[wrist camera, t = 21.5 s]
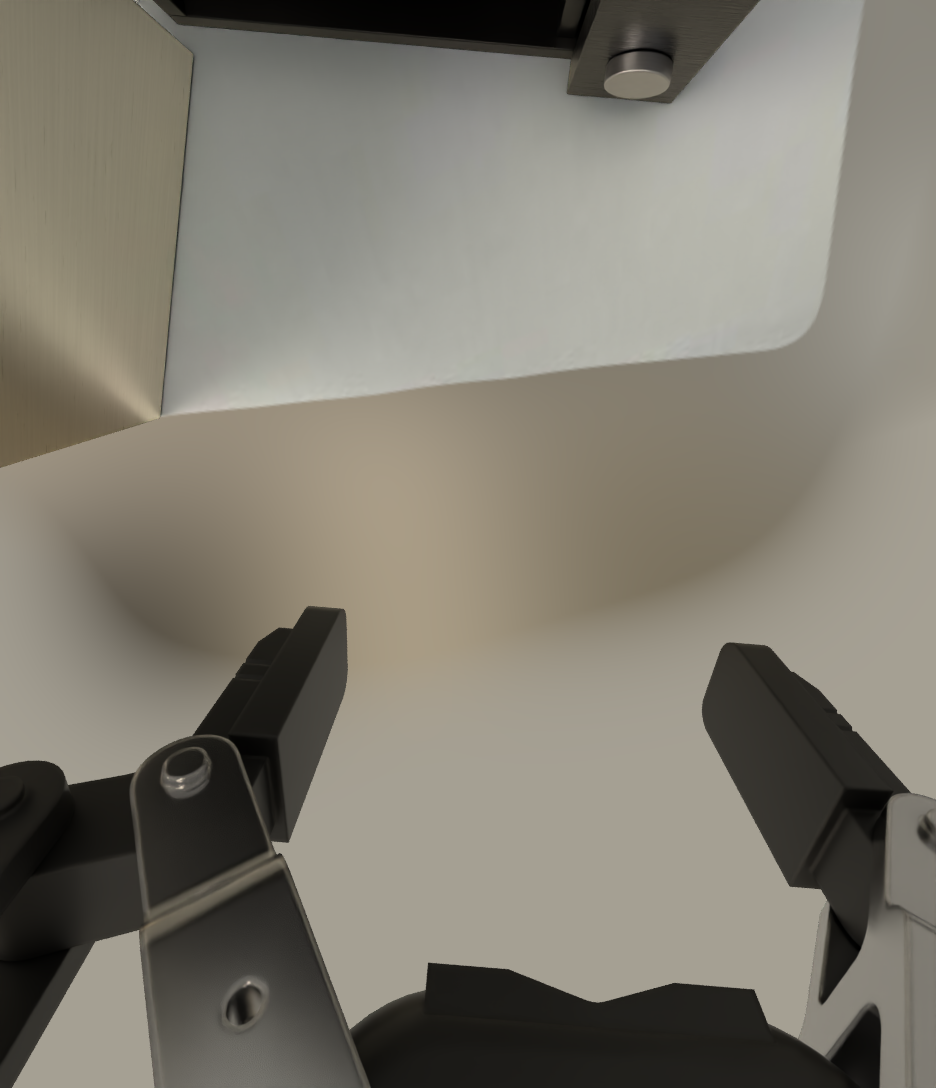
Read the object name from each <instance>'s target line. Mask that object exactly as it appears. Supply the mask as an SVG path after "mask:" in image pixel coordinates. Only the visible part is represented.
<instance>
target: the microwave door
mask: <svg viewBox="0 0 936 1088" xmlns="http://www.w3.org/2000/svg"><path fill="white" fill-rule="evenodd" d="M192 64H193V54H192V53H191V52H190V51H189V50H188V49H187V48H186V47H185V46H184V45H182V44H181V43H180V42H179V41H178V40H177V39H176V38H175V37H174V36H172V35H171V34H170V33H169V32H168V31H167V30H166V29H165V28H164V27H162V26H161V25H160V24H159V23H158V22H157V21H156V20H155V19H154V18H152V17H151V16H150V15H149V14H148V13H147V12H146V11H145V10H144V9H142V8H141V7H140V6H139V5H138V4H137V3H136V2H135V1H134V0H0V468H1V467H4V466H7V465H11V464H14V463H17V462H20V461H24V460H27V459H30V458H33V457H37V456H40V455H43V454H46V453H50V452H53V451H56V450H59V449H62V448H66V447H69V446H72V445H75V444H79V443H82V442H85V441H88V440H91V439H95V438H98V437H101V436H104V435H107V434H111V433H114V432H117V431H120V430H124V429H127V428H130V427H133V426H136V425H140V424H143V423H146V422H149V421H153V420H156V419H159V418H160V413H161V402H162V391H163V380H164V369H165V358H166V347H167V337H168V326H169V315H170V304H171V293H172V282H173V271H174V260H175V249H176V238H177V227H178V217H179V206H180V195H181V184H182V173H183V162H184V151H185V140H186V129H187V118H188V107H189V96H190V86H191V75H192Z"/></svg>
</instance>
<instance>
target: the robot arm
mask: <svg viewBox="0 0 936 1088" xmlns="http://www.w3.org/2000/svg"><path fill="white" fill-rule="evenodd" d="M347 668H348V664H347V627H346V613H345V610H344V609H338V608H326V607H315V606H308V607H307V608H306V609H305V610H304V612H303V613H302V615H301V617H300V618H299V620H298V622H297V623H296V625H295V626H294V628H293V629H289V628H278V629H276V630H275V631H273V632H272V633H270V634H269V635H268V636H266V637H265V638H263V639H262V640H260V641H259V642H258V643H257V645H256V646H255V647H254V649H253V650H252V652H251V653H250V655H249V656H248V657H247V659H246V663H243V664H242V666H241V667H240V669H239V670H238V672H237V673H236V677H235V678H233V679H232V680H231V682H230V683H229V684H228V686H227V687H226V689H225V690H224V691H223V693H222V694H221V696H220V697H219V699H218V700H217V701H216V703H215V704H214V706H213V707H212V709H211V710H210V711H209V713H208V714H207V716H206V717H205V719H204V720H203V721H202V723H201V724H200V726H199V727H198V729H197V730H196V731H195V733H194V734H193V736H190V737H186V738H183V739H179V740H177V741H174V742H172V743H170V744H168V745H166V746H164V747H163V748H161V749H159V750H158V751H156V752H155V753H153V754H152V755H151V756H150V757H148V758H147V759H146V760H145V761H144V762H143V764H141V765H140V767H139V768H138V770H137V771H136V772H135V773H131V774H127V775H122V776H117V777H111V778H106V779H100V780H95V781H89V782H83V783H77V784H72V785H68V784H67V781H66V779H65V776H64V773H63V771H62V770H61V769H60V768H59V767H58V766H56V765H55V764H53V763H50V762H47V761H25V762H18V763H14V764H10V765H6V766H3V767H0V1088H12V1087H13V1085H14V1083H15V1081H16V1080H17V1078H18V1076H19V1074H20V1072H21V1071H22V1069H23V1067H24V1066H25V1064H26V1062H27V1060H28V1058H29V1057H30V1055H31V1053H32V1051H33V1050H34V1048H35V1046H36V1044H37V1043H38V1041H39V1039H40V1037H41V1036H42V1034H43V1032H44V1030H45V1029H46V1027H47V1025H48V1023H49V1022H50V1020H51V1018H52V1016H53V1015H54V1013H55V1011H56V1009H57V1008H58V1006H59V1004H60V1002H61V1001H62V999H63V997H64V995H65V994H66V992H67V990H68V988H69V987H70V984H71V983H72V981H73V979H74V978H75V976H76V974H77V973H78V971H79V969H80V967H81V965H82V964H83V962H84V960H85V958H86V957H87V955H88V953H89V952H90V950H91V948H92V946H93V944H94V943H95V941H99V940H102V939H107V938H110V937H114V936H118V935H121V934H125V933H129V932H133V931H137V930H139V939H140V952H141V962H142V971H143V981H144V991H145V1000H146V1010H147V1019H148V1028H149V1038H150V1047H151V1057H152V1067H153V1076H154V1085H155V1088H936V800H935V799H932V798H929V797H926V796H923V795H919V794H912V793H911V792H910V791H909V790H908V789H907V788H906V787H905V786H904V785H903V783H902V782H901V781H900V780H899V779H898V778H897V777H896V776H895V774H894V773H893V772H892V771H891V770H890V769H889V768H888V767H887V766H886V764H885V763H884V762H883V761H882V760H881V759H880V758H879V757H878V755H877V754H876V753H875V752H874V751H873V750H872V749H871V748H870V746H869V745H868V744H867V743H866V742H865V741H864V740H863V739H862V738H861V737H860V736H859V734H858V733H857V732H854V731H852V726H851V725H850V724H849V723H848V722H847V721H846V720H845V719H844V717H843V716H842V715H841V714H837V710H836V709H835V707H833V705H832V704H831V703H830V702H829V701H828V700H827V699H826V697H825V696H824V695H823V694H822V693H821V692H820V691H819V690H818V689H817V688H815V687H814V686H813V685H811V684H810V683H808V682H807V681H805V680H804V679H803V678H801V677H800V676H798V675H797V674H796V673H794V672H791V671H790V670H789V669H788V668H787V667H786V665H785V664H784V663H783V662H782V661H781V660H780V659H779V657H778V656H777V655H776V654H775V653H774V651H772V649H771V648H769V647H768V646H765V645H754V644H742V643H726V644H725V645H724V646H723V647H722V649H721V651H720V653H719V656H718V659H717V662H716V665H715V667H714V670H713V673H712V676H711V679H710V682H709V685H708V687H707V690H706V693H705V696H704V699H703V704H702V716H703V722H704V725H705V728H706V731H707V732H708V734H709V736H710V738H711V740H712V742H713V744H714V746H715V748H716V749H717V751H718V753H719V755H720V757H721V759H722V761H723V763H724V764H725V766H726V768H727V770H728V772H729V774H730V776H731V778H732V779H733V781H734V783H735V785H736V786H737V789H738V791H739V793H740V794H741V796H742V798H743V800H744V802H745V803H746V806H747V807H748V809H749V811H750V813H751V815H752V817H753V819H754V820H755V823H756V824H757V826H758V828H759V830H760V832H761V834H762V836H763V838H764V839H765V841H766V843H767V845H768V847H769V848H770V850H771V852H772V854H773V856H774V858H775V860H776V862H777V864H778V865H779V868H780V869H781V871H782V873H783V875H784V877H785V879H786V881H787V883H788V884H789V886H790V887H802V888H814V889H821V890H822V892H823V894H824V895H825V896H826V899H827V902H826V903H825V905H824V907H823V908H822V910H821V913H820V917H819V924H818V931H817V938H816V945H815V952H814V959H813V966H812V973H811V980H810V987H809V994H808V1001H807V1008H806V1014H805V1019H804V1023H803V1026H802V1029H801V1032H800V1035H799V1038H798V1039H797V1038H795V1037H793V1036H791V1035H789V1034H788V1033H786V1032H784V1031H782V1030H780V1029H778V1028H776V1027H774V1026H772V1025H770V1024H768V1023H767V1021H766V1018H765V1016H764V1013H763V1011H762V1008H761V1006H760V1003H759V1001H758V998H757V996H756V993H755V991H754V990H752V989H740V988H728V987H716V986H704V985H691V984H680V983H672V984H669V985H665V986H661V987H658V988H654V989H650V990H647V991H643V992H639V993H635V994H632V995H628V996H624V997H620V998H617V999H613V1000H609V1001H605V1002H600V1003H596V1002H590V1001H587V1000H584V999H582V998H579V997H577V996H574V995H571V994H569V993H566V992H564V991H561V990H559V989H556V988H554V987H551V986H549V985H546V984H544V983H541V982H539V981H536V980H534V979H531V978H529V977H526V976H524V975H521V974H519V973H516V972H514V971H511V970H509V969H498V968H485V967H474V966H460V965H449V964H437V963H428V970H427V982H426V990H425V991H421V992H417V993H413V994H410V995H406V996H404V997H402V998H399V999H397V1000H395V1001H392V1002H390V1003H388V1004H386V1005H384V1006H383V1007H381V1008H380V1009H378V1010H376V1011H374V1012H373V1013H371V1014H369V1015H368V1016H367V1017H365V1018H364V1019H363V1020H362V1021H360V1022H359V1023H358V1024H357V1025H355V1026H354V1027H353V1028H351V1029H350V1030H349V1028H348V1025H347V1022H346V1020H345V1017H344V1014H343V1012H342V1009H341V1007H340V1004H339V1001H338V999H337V996H336V993H335V990H334V988H333V985H332V982H331V980H330V977H329V974H328V972H327V969H326V967H325V964H324V961H323V958H322V956H321V953H320V950H319V948H318V945H317V942H316V939H315V937H314V934H313V931H312V929H311V926H310V924H309V921H308V918H307V915H306V913H305V910H304V908H303V905H302V902H301V899H300V897H299V894H298V892H297V889H296V886H295V883H294V881H293V878H292V875H291V873H290V870H289V868H288V865H287V863H286V861H285V859H284V857H283V856H282V854H280V853H279V854H278V855H277V854H276V852H275V850H274V848H273V845H272V842H271V841H274V842H286V843H288V842H289V840H290V837H291V835H292V832H293V829H294V827H295V824H296V821H297V819H298V816H299V813H300V811H301V808H302V805H303V803H304V800H305V798H306V795H307V792H308V790H309V787H310V784H311V781H312V779H313V776H314V774H315V771H316V768H317V765H318V763H319V760H320V758H321V755H322V752H323V750H324V747H325V744H326V742H327V739H328V736H329V734H330V731H331V728H332V725H333V723H334V720H335V718H336V715H337V712H338V710H339V707H340V704H341V702H342V699H343V696H344V692H345V688H346V682H347V671H348V669H347Z"/></svg>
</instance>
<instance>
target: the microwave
mask: <svg viewBox="0 0 936 1088" xmlns="http://www.w3.org/2000/svg"><path fill="white" fill-rule="evenodd" d="M153 1H154V2H155V3H156V4H157V5H158V6H160V7H161V8H162V9H163V10H164V11H165V12H166V13H167V14H168V15H169V16H170V17H171V18H172V19H173V20H174V21H175V22H176V23H177V24H181V25H192V26H204V27H215V28H226V29H237V30H249V31H260V32H271V33H283V34H294V35H305V36H316V37H328V38H339V39H350V40H361V41H373V42H384V43H395V44H406V45H418V46H429V47H440V48H451V49H463V50H474V51H485V52H497V53H508V54H519V55H530V56H542V57H553V58H564V59H571V64H570V72H569V80H568V88H567V94H572V95H583V96H594V97H606V98H617V99H628V100H639V101H651V102H662V103H672V101H673V100H674V99H675V98H676V97H677V96H678V95H679V93H680V92H681V91H682V90H683V89H684V88H685V86H686V85H687V84H688V83H689V82H690V81H691V80H692V78H693V77H694V76H695V75H696V74H697V73H698V71H699V70H700V69H701V68H702V67H703V66H704V65H705V63H706V62H707V61H708V60H709V59H710V58H711V56H712V55H713V54H714V53H715V52H716V51H717V50H718V48H719V47H720V46H721V45H722V44H723V43H724V41H725V40H726V39H727V38H728V37H729V36H730V35H731V33H732V32H733V31H734V30H735V29H736V28H737V26H738V25H739V24H740V23H741V22H742V21H743V20H744V18H745V17H746V16H747V15H748V14H749V13H750V11H751V10H752V9H753V8H754V7H755V6H756V5H757V3H758V2H759V1H760V0H153Z"/></svg>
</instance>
